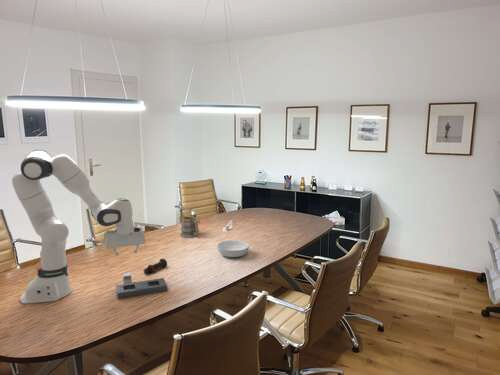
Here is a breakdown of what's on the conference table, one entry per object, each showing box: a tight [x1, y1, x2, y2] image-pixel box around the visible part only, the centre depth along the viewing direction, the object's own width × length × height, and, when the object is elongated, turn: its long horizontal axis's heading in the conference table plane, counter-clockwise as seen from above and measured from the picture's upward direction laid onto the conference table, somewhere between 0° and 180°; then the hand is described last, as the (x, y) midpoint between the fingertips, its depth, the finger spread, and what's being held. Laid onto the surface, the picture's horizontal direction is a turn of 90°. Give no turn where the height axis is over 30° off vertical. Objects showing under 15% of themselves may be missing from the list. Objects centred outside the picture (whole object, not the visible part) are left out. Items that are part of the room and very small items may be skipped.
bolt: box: [143, 258, 168, 275], centre depth 215 cm, size 6×5×15 cm
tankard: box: [179, 216, 201, 239], centre depth 282 cm, size 20×13×15 cm, turn 43°
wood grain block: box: [122, 272, 133, 284], centre depth 197 cm, size 4×4×5 cm
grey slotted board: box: [115, 277, 168, 300], centre depth 189 cm, size 24×10×3 cm, turn 113°
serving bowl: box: [216, 239, 250, 258], centre depth 242 cm, size 21×21×7 cm
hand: (126, 253), depth 195 cm, fingers open, 8 cm apart
